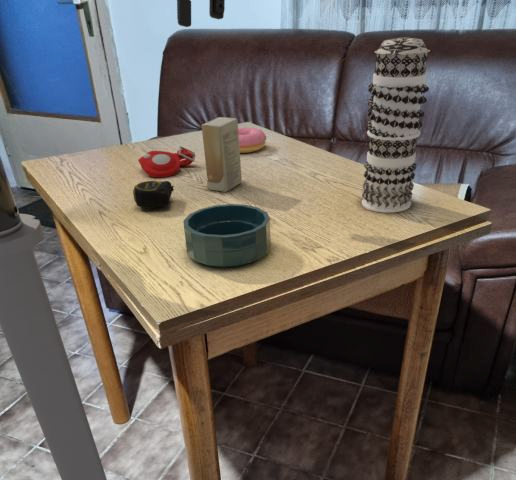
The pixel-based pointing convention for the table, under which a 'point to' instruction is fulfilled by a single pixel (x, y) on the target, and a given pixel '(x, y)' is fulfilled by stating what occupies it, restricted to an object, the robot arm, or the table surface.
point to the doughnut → (251, 139)
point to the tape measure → (152, 194)
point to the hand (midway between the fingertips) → (200, 22)
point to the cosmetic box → (222, 153)
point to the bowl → (227, 235)
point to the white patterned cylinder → (394, 123)
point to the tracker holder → (166, 162)
